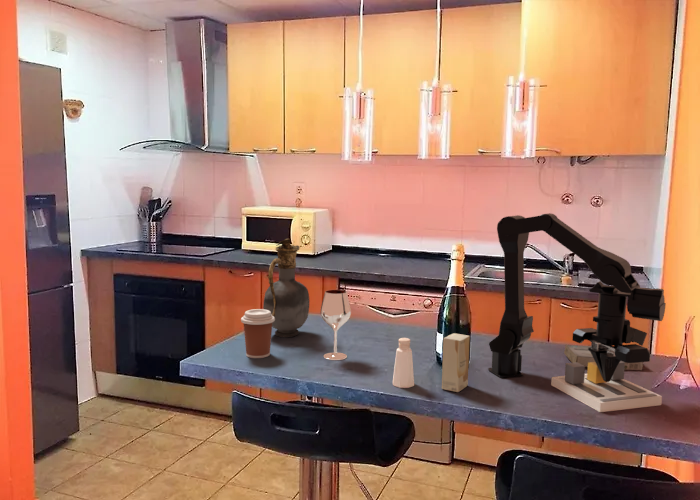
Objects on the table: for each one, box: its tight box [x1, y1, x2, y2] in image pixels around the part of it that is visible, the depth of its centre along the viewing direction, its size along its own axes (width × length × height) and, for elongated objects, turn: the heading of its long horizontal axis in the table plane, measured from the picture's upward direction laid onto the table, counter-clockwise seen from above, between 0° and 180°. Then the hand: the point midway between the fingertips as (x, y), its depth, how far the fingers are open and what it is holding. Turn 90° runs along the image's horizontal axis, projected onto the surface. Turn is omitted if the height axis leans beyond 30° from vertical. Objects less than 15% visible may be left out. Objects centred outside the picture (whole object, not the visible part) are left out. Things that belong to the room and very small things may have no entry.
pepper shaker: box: [392, 337, 415, 389], centre depth 141 cm, size 5×5×11 cm
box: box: [563, 344, 644, 371], centre depth 160 cm, size 11×17×3 cm, turn 86°
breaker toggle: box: [586, 362, 605, 383], centre depth 138 cm, size 3×3×4 cm
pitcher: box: [262, 238, 310, 338], centre depth 182 cm, size 11×19×30 cm, turn 160°
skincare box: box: [441, 332, 471, 393], centre depth 139 cm, size 6×4×12 cm
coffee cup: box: [240, 308, 275, 359], centre depth 163 cm, size 9×9×12 cm
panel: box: [550, 361, 663, 413], centre depth 136 cm, size 16×17×6 cm
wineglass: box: [320, 289, 352, 361], centre depth 161 cm, size 8×8×18 cm
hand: (606, 381), depth 135 cm, fingers closed
